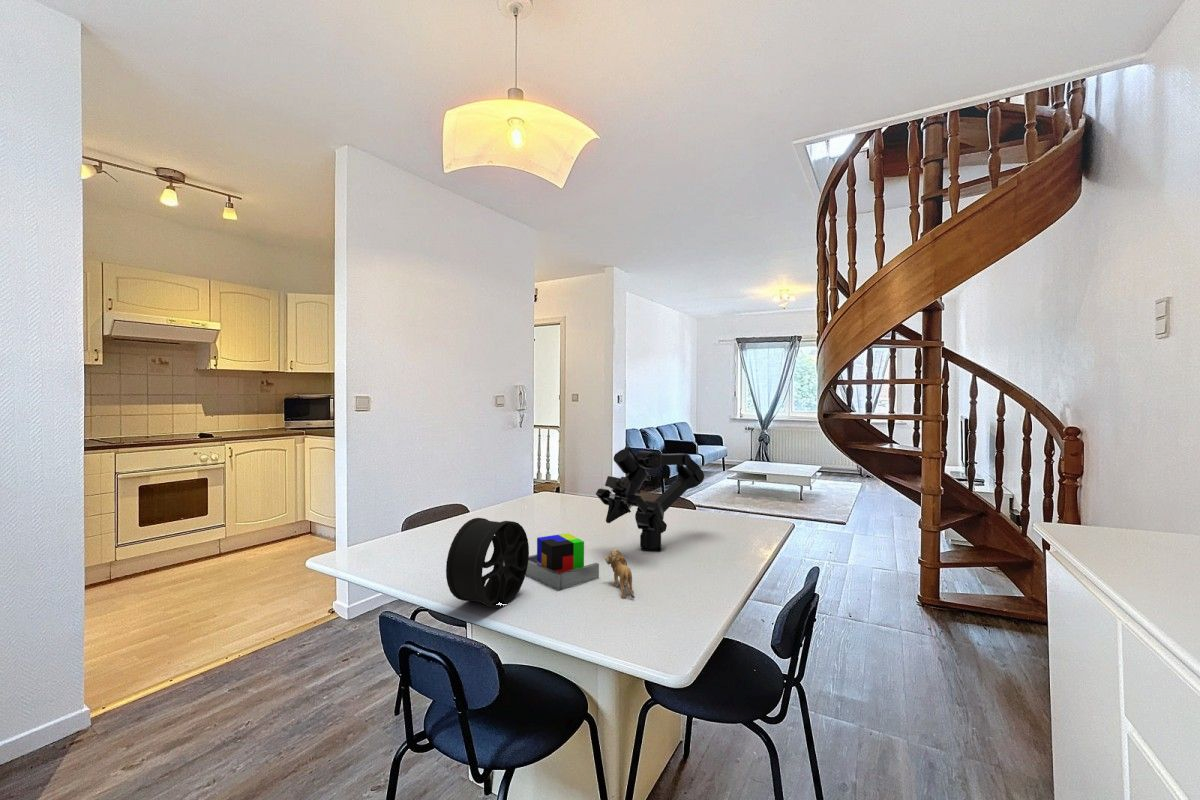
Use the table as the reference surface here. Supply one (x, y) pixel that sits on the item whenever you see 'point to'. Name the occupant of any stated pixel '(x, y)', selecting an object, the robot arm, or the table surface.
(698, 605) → the table surface
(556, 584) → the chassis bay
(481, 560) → the car wheel rim
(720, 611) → the table surface
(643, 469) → the robot arm
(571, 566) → the puzzle toy
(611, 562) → the lion figurine
